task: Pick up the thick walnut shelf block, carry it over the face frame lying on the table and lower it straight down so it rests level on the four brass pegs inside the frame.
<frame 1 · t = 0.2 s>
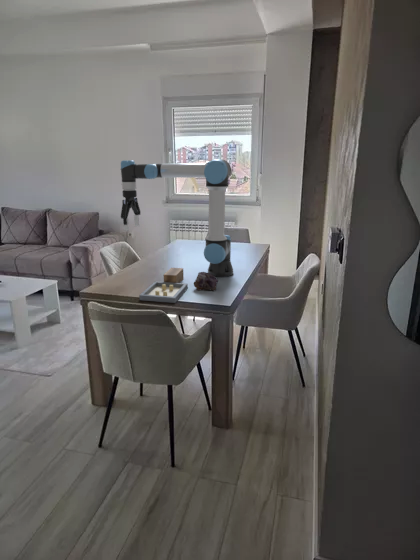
hand: (131, 228, 215), 28 cm above the table, fingers open, 13 cm apart
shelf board: (174, 282, 210), on the table
rock: (206, 289, 199), on the table
face frame: (164, 293, 192), on the table
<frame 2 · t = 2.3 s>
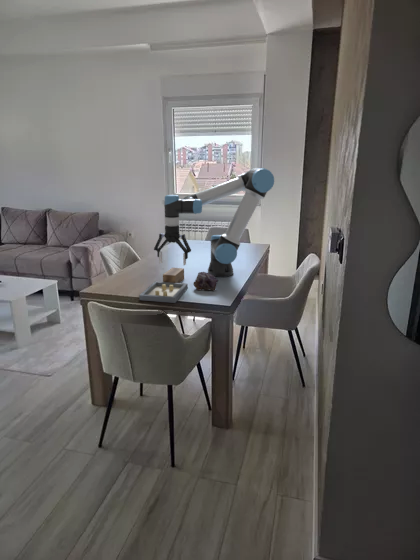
hand: (172, 263, 206), 11 cm above the table, fingers open, 13 cm apart
nothing on the table moved.
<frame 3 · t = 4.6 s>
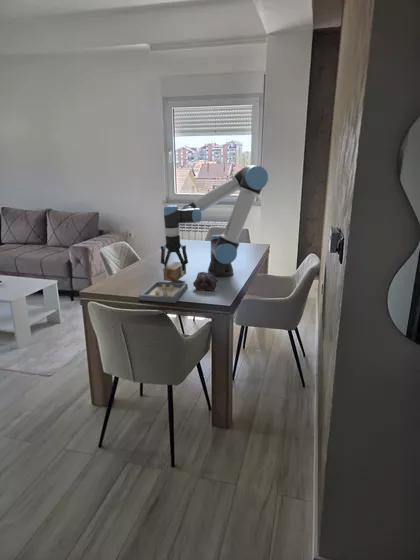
hand: (175, 276, 209), 4 cm above the table, fingers closed on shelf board, 7 cm apart
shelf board: (175, 276, 209), point 3 cm above the table, touching gripper
everything else where it was.
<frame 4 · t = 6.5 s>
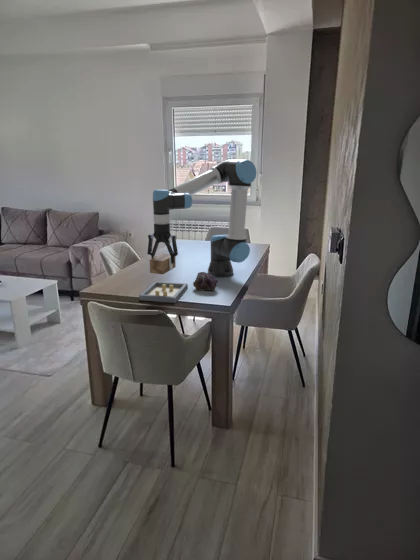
hand: (163, 269, 188), 13 cm above the table, fingers closed on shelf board, 7 cm apart
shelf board: (163, 269, 188), point 13 cm above the table, touching gripper
everything else where it was.
when the fingers open (4 cm above the table, at t = 8.2 s): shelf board stays where it is, resting on face frame.
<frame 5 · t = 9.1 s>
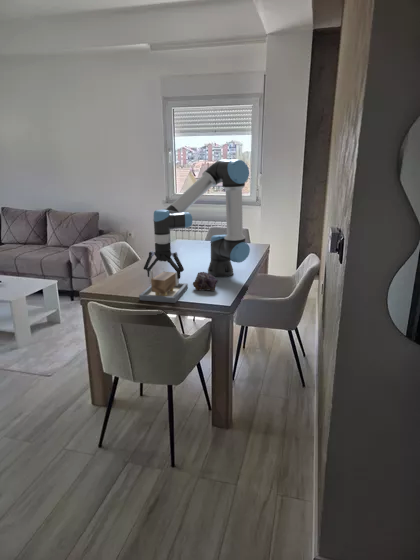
hand: (164, 284, 190), 5 cm above the table, fingers open, 13 cm apart
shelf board: (164, 288, 191), point 3 cm above the table, touching face frame
everything else where it was.
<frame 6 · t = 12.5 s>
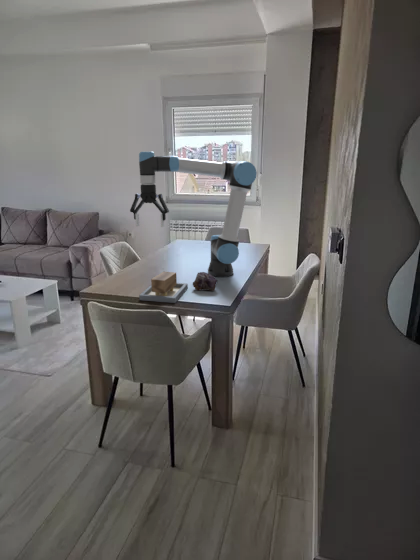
hand: (150, 226, 196), 32 cm above the table, fingers open, 13 cm apart
nothing on the table moved.
at the end: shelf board inside the target area on the face frame (0.1 cm from its centre), point 3.0 cm above the face frame's base; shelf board tilted 0°; the gripper is holding nothing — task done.
